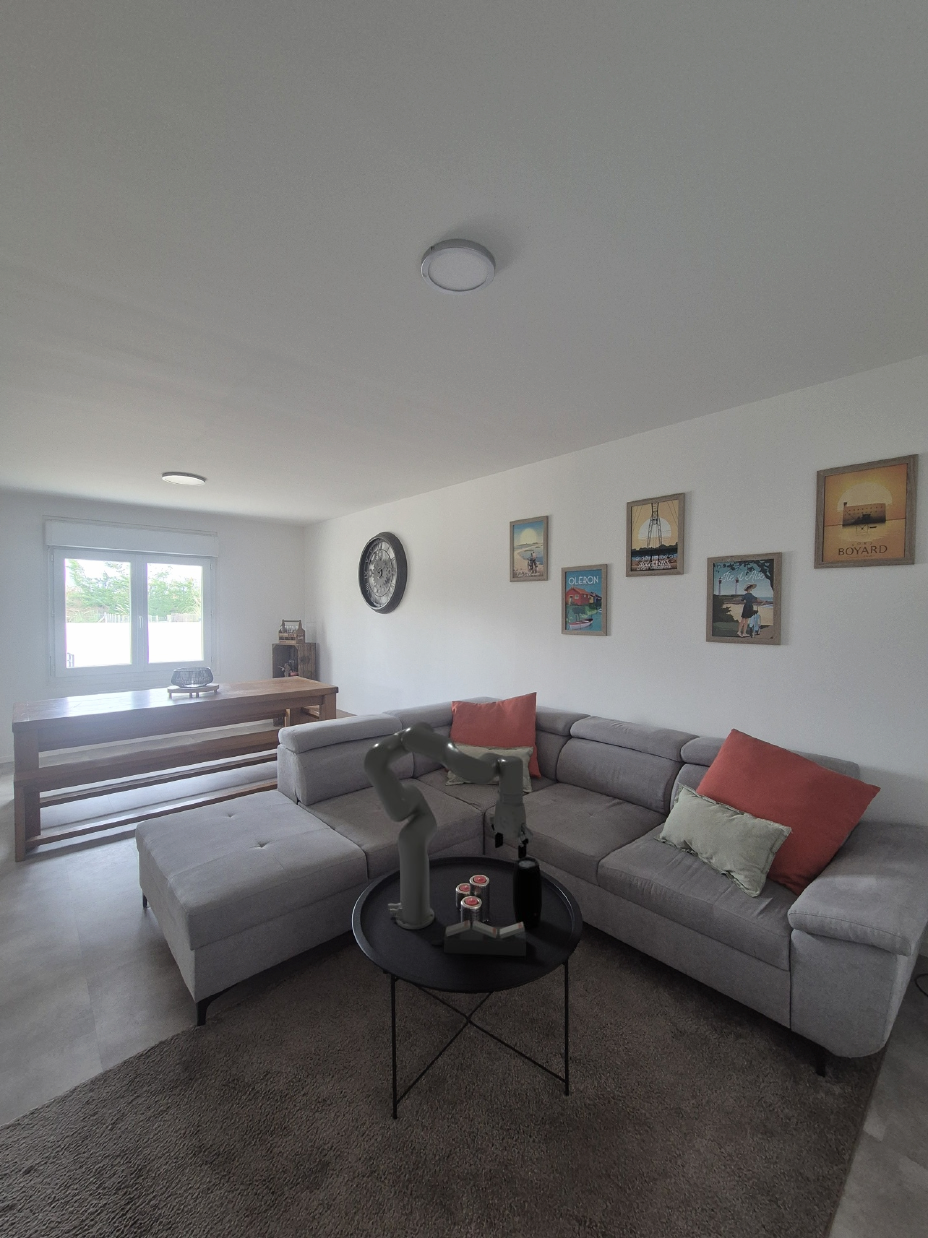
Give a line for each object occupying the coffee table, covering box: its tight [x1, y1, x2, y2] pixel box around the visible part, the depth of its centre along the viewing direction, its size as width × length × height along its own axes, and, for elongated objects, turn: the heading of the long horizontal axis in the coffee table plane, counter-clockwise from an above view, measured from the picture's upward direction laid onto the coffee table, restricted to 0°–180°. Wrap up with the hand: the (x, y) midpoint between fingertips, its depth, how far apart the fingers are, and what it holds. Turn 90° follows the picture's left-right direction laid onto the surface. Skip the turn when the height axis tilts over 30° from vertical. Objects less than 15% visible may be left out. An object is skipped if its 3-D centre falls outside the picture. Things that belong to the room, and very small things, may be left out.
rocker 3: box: [500, 922, 524, 938], centre depth 148 cm, size 7×3×1 cm, turn 86°
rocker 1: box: [445, 919, 471, 936], centre depth 149 cm, size 7×3×1 cm, turn 86°
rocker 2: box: [472, 920, 497, 938], centre depth 148 cm, size 7×3×1 cm, turn 85°
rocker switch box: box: [431, 924, 527, 957], centre depth 150 cm, size 28×7×5 cm, turn 86°
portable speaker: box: [512, 856, 543, 930], centre depth 162 cm, size 9×9×20 cm
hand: (510, 852), depth 156 cm, fingers open, 9 cm apart
